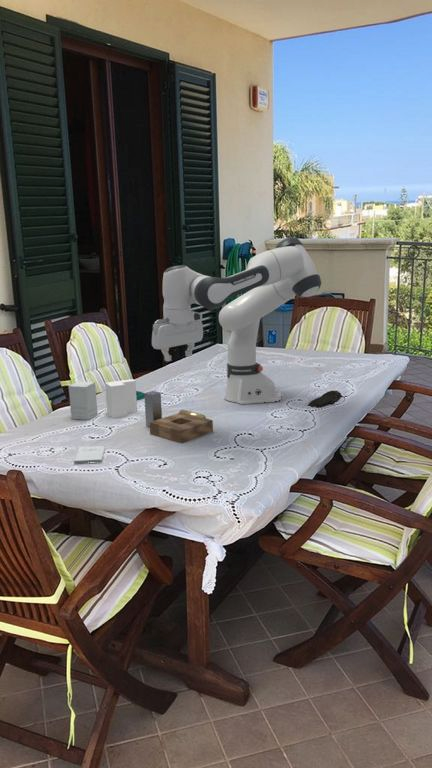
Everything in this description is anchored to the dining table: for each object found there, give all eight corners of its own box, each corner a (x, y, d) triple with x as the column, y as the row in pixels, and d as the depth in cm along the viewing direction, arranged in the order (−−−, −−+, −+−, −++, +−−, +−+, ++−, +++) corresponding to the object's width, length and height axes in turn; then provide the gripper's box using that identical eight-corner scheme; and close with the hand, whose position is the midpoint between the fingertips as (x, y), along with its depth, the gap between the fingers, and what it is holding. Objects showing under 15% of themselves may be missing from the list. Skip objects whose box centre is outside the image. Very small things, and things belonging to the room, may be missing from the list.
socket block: (182, 423, 232) (181, 412, 231) (212, 431, 222) (212, 420, 221) (150, 433, 221) (149, 422, 220) (180, 442, 211) (180, 431, 210)
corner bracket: (113, 418, 240) (110, 386, 237) (103, 410, 250) (101, 380, 247) (140, 413, 244) (138, 382, 242) (129, 406, 254) (128, 376, 251)
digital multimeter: (146, 398, 267) (145, 391, 266) (122, 407, 255) (122, 400, 254) (132, 396, 271) (131, 389, 270) (108, 405, 258) (107, 398, 258)
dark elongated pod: (324, 410, 244) (324, 402, 244) (306, 407, 248) (306, 399, 248) (348, 397, 262) (349, 389, 261) (331, 394, 266) (332, 387, 265)
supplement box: (98, 414, 244) (96, 381, 241) (88, 420, 238) (85, 386, 235) (81, 413, 247) (78, 380, 244) (70, 419, 240) (67, 385, 237)
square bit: (154, 423, 232) (153, 390, 229) (162, 425, 229) (160, 392, 227) (146, 426, 229) (144, 393, 226) (153, 428, 227) (152, 395, 224)
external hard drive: (74, 465, 195) (79, 451, 207) (101, 464, 196) (105, 450, 208) (73, 460, 195) (79, 446, 207) (101, 459, 195) (105, 445, 207)
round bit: (181, 422, 236) (176, 416, 233) (187, 414, 237) (182, 407, 235) (201, 428, 229) (196, 421, 226) (207, 419, 230) (202, 412, 228)
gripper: (159, 321, 203) (161, 365, 206) (205, 313, 217) (206, 354, 221) (146, 319, 207) (148, 362, 210) (192, 312, 221) (193, 352, 225)
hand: (178, 358), depth 216 cm, fingers open, 8 cm apart
